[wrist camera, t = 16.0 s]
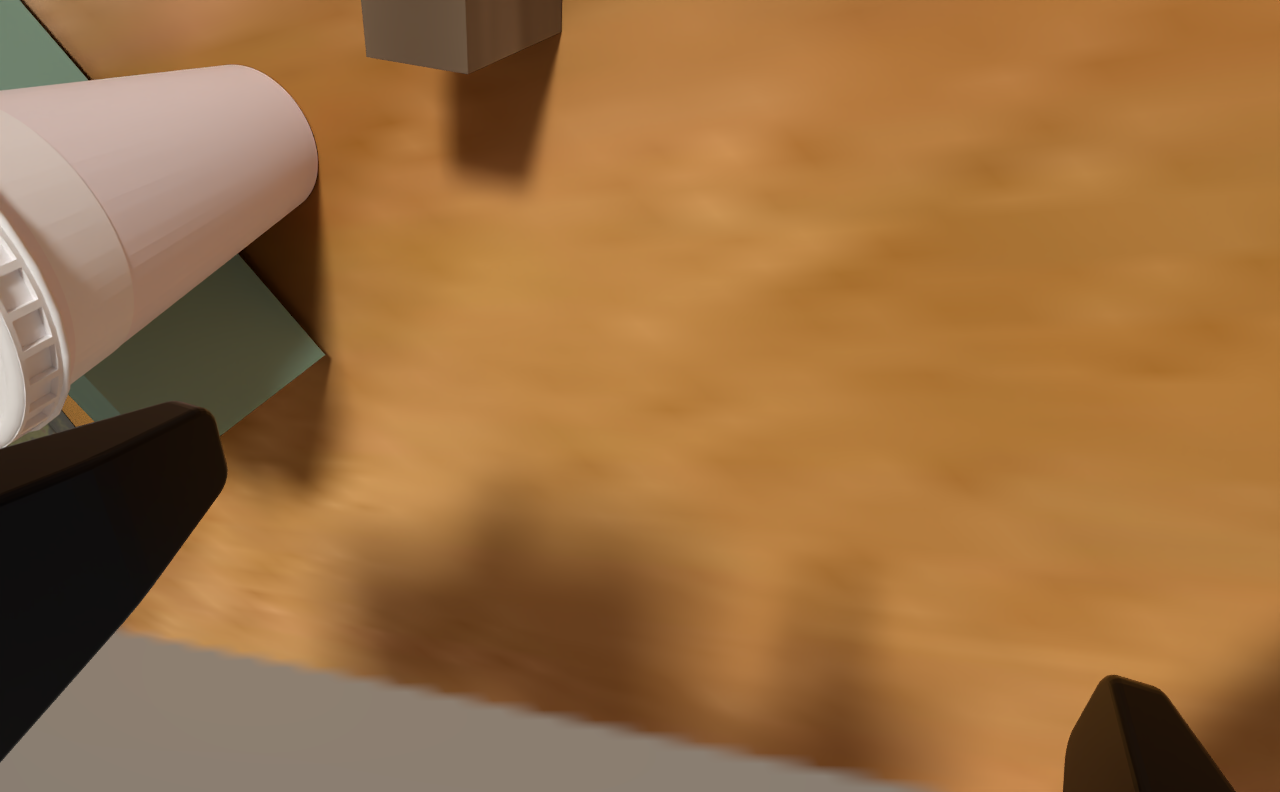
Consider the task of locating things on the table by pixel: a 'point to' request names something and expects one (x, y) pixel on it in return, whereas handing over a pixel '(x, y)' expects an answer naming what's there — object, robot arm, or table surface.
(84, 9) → the table surface
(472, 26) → the brown block
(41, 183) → the smoothie
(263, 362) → the green block
